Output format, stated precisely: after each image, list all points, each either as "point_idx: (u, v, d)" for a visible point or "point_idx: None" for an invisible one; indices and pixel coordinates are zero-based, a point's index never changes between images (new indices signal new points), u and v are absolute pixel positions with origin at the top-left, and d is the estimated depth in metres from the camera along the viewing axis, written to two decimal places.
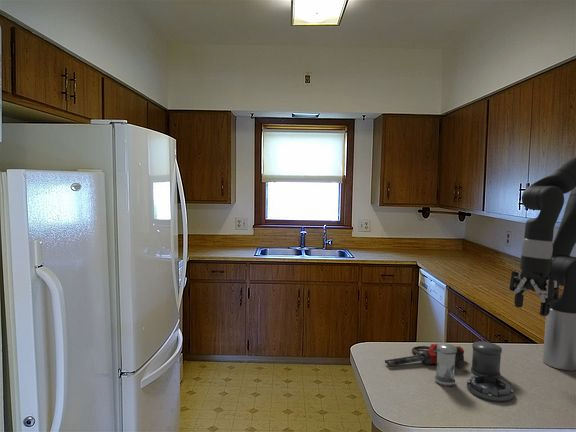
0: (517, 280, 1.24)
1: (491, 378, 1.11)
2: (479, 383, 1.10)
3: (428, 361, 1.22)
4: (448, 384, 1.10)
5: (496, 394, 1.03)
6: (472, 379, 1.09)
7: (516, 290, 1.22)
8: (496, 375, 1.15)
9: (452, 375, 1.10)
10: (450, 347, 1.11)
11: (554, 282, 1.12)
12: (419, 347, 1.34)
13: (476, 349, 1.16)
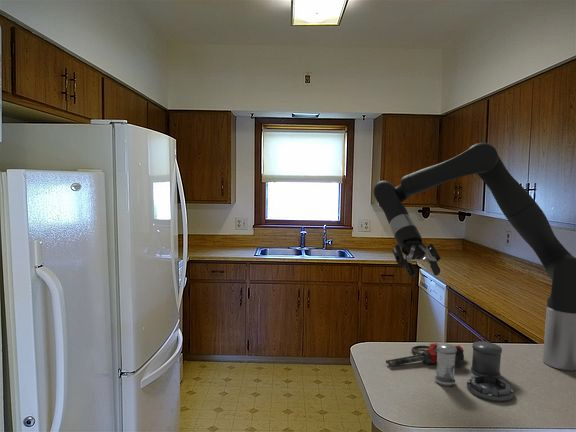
0: (431, 252, 1.29)
1: (491, 378, 1.11)
2: (479, 383, 1.10)
3: (429, 361, 1.22)
4: (448, 384, 1.10)
5: (496, 394, 1.03)
6: (472, 379, 1.09)
7: None
8: (496, 375, 1.15)
9: (452, 375, 1.10)
10: (450, 347, 1.11)
11: (393, 249, 1.26)
12: (418, 347, 1.34)
13: (476, 349, 1.16)
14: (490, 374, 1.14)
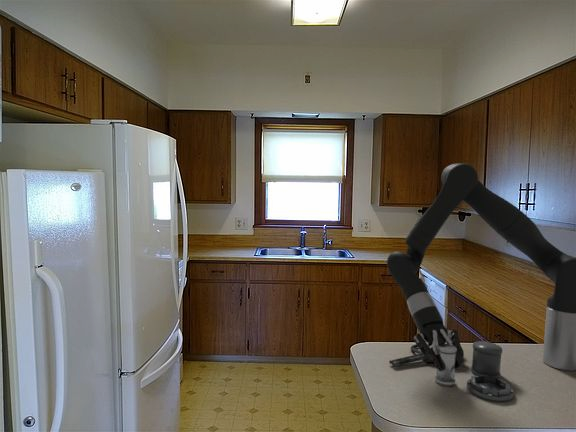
0: (453, 339, 1.16)
1: (491, 378, 1.11)
2: (479, 383, 1.10)
3: (430, 359, 1.23)
4: (448, 384, 1.10)
5: (496, 394, 1.03)
6: (472, 379, 1.09)
7: None
8: (496, 375, 1.15)
9: (452, 375, 1.10)
10: (450, 347, 1.11)
11: (414, 338, 1.14)
12: None
13: (476, 349, 1.16)
14: (490, 374, 1.14)
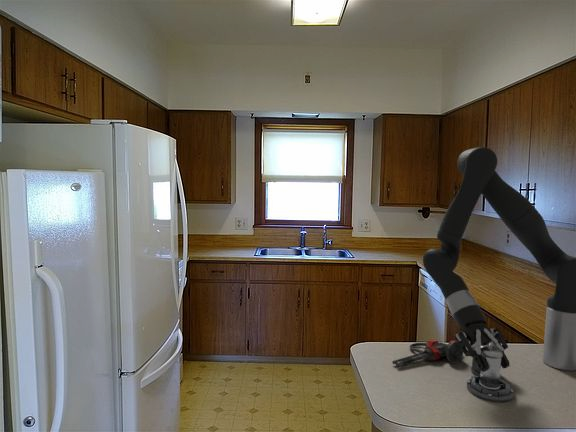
0: (497, 337, 1.12)
1: None
2: None
3: (432, 358, 1.24)
4: (494, 389, 1.05)
5: (496, 394, 1.03)
6: (472, 379, 1.09)
7: None
8: None
9: (498, 380, 1.06)
10: (495, 351, 1.07)
11: (456, 336, 1.10)
12: (415, 344, 1.36)
13: None
14: None
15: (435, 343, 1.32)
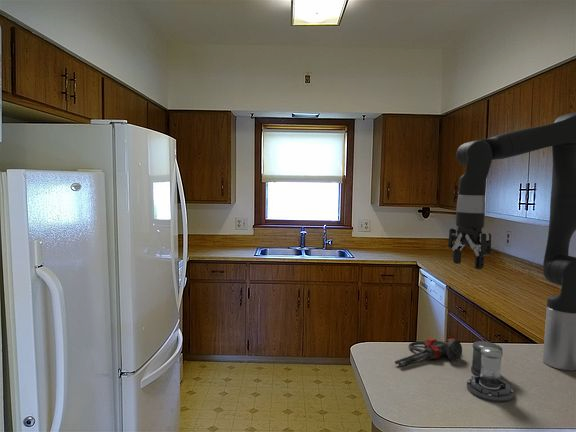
0: (455, 237, 1.25)
1: None
2: None
3: (433, 357, 1.25)
4: (494, 389, 1.05)
5: (496, 394, 1.03)
6: (472, 379, 1.09)
7: (454, 247, 1.24)
8: None
9: (498, 380, 1.06)
10: (495, 351, 1.07)
11: (486, 235, 1.13)
12: (414, 343, 1.37)
13: (475, 348, 1.17)
14: None
15: (434, 342, 1.33)
